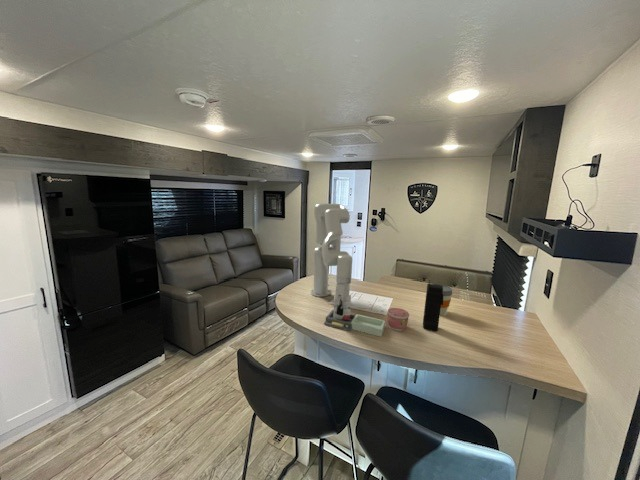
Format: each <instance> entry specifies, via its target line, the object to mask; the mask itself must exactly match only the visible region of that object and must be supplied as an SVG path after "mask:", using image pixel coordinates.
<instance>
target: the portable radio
mask: <svg viewBox="0 0 640 480" xmlns="http://www.w3.org/2000/svg"><path fill="white" fill-rule="evenodd" d="M434 284H435V283H431V280H429V283H427V285H426V294H425V301H424V310H423V319H422V328H423V330H425V329H426V331H431V330H432V332H436V331H437V332H438V330H439V325H440V324H439V323H440V322H439V321H440V316H441V315H440V309H441V305H442V306H443V286H442V285H443V284H442V285H434Z"/></svg>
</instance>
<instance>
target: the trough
mask: <svg viewBox="0 0 640 480" xmlns="http://www.w3.org/2000/svg"><path fill="white" fill-rule="evenodd" d="M355 315H356V316H355V317H354V319H353V320H352V322H351V324H352V330H354V331H356V330H357V332H360V331H361V333H364V332H365V334H370V335H374V336H377V337H382V336H383V334H382V333H384V331H385V328H386V320H384V319H379V318H376V317H371V316H367V315H362V314H355ZM352 330H351V331H352Z"/></svg>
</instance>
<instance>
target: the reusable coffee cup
mask: <svg viewBox="0 0 640 480" xmlns="http://www.w3.org/2000/svg"><path fill="white" fill-rule="evenodd" d="M433 284H434V285H442V286H443V306H442V305H441V309H440V316H445V315H447V311H448V309H449V307H450V304H451V300H452V299H451V297H452V295H453V288H452V287H450V286H448V285H445V284H441V283H433Z"/></svg>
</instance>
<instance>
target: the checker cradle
mask: <svg viewBox="0 0 640 480" xmlns="http://www.w3.org/2000/svg"><path fill="white" fill-rule="evenodd" d="M333 313H334V309H332V310H331V311H330V312H329V313H328V314H327V315H326V316H325V321H324V323H323V325H324V326H327V327H328V326H329V327H332V328H336V329H341V330H344V331H349V332H351V331H352V324H351V322H352V320H353V319H354V317H355V316H356V314H353V313H350V320H343V319H334V318H333Z"/></svg>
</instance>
